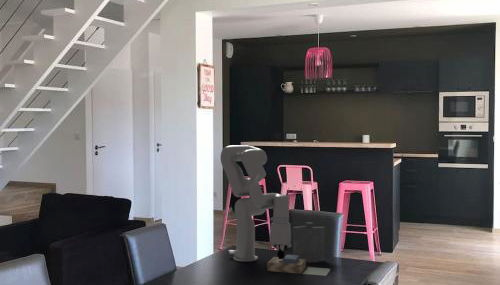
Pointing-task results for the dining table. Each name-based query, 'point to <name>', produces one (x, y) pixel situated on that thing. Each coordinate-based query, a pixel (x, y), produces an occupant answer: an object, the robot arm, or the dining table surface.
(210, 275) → the dining table surface
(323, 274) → the mat
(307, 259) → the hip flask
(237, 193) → the robot arm
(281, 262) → the deck
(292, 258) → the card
